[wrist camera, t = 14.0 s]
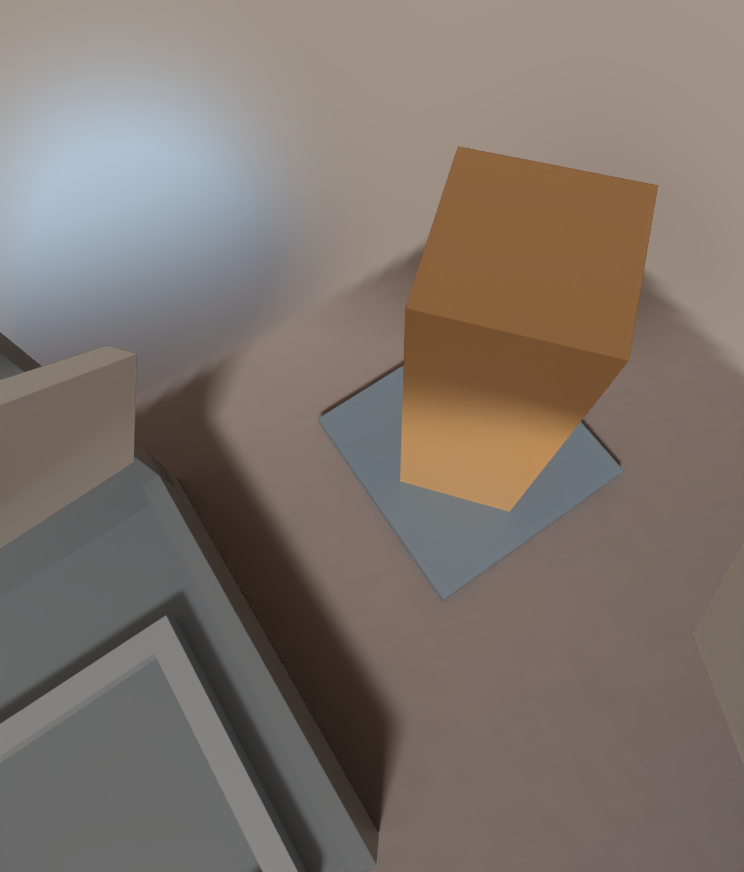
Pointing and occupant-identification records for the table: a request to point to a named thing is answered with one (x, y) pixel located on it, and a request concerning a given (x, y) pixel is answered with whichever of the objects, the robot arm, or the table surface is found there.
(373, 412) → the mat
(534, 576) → the table surface
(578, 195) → the module
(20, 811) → the case
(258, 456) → the table surface
